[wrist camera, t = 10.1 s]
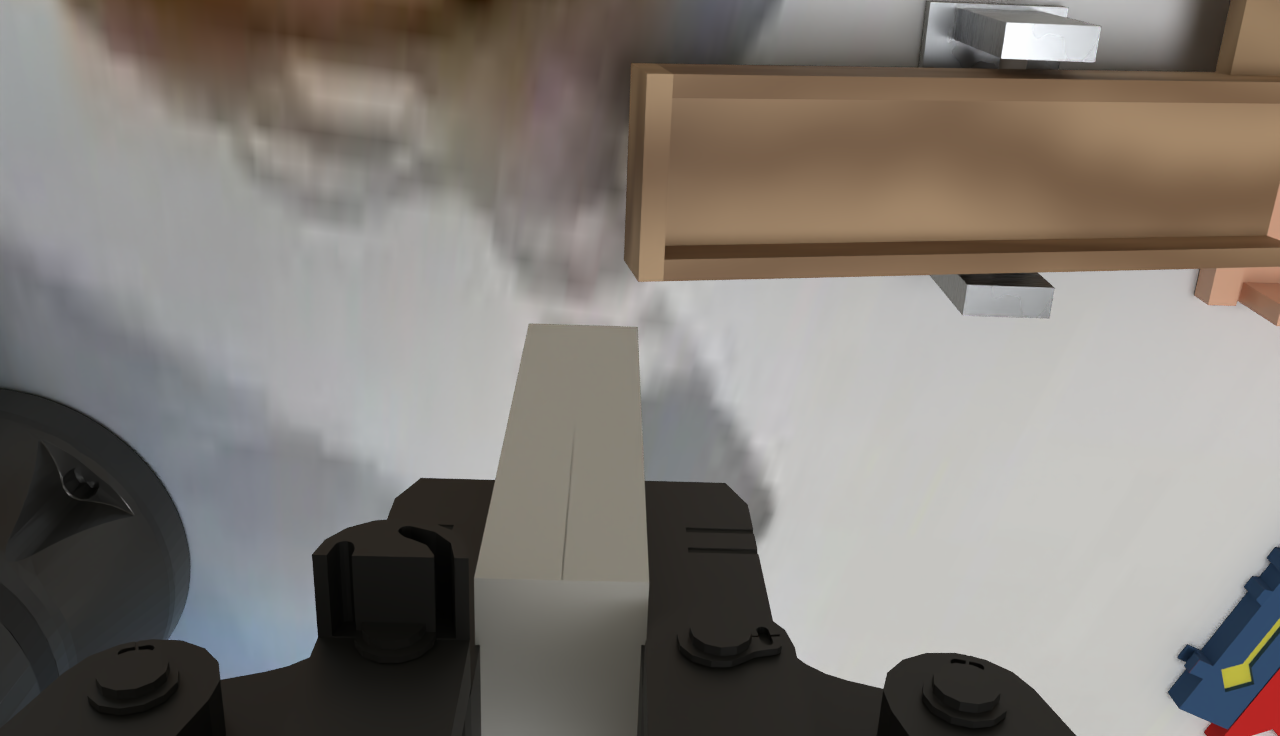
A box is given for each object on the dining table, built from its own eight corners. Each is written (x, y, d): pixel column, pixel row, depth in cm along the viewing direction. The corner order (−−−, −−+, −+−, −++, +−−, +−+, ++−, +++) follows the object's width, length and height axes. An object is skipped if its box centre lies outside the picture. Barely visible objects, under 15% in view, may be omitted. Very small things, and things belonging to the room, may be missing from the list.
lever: (1229, 249, 45) (1291, 274, 42) (618, 261, 40) (638, 290, 37) (1328, -174, 39) (1407, -180, 36) (635, -219, 34) (659, -230, 31)
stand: (1019, 269, 46) (1076, 323, 40) (893, 265, 46) (933, 318, 40) (1062, 6, 42) (1134, 22, 37) (926, 0, 42) (975, 16, 36)
